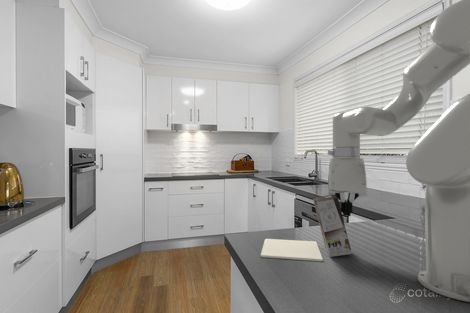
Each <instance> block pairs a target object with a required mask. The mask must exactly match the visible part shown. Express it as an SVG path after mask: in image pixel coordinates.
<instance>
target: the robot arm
mask: <svg viewBox="0 0 470 313" xmlns="http://www.w3.org/2000/svg"><path fill="white" fill-rule="evenodd" d="M429 35H430V39H431V41H432V42H431V44H429V46H428V47H427V48H426V49H424V50H423V51H422V52H421V53H420V54H419V55H418V56H417V57H415V59H414V60H412V62H410V63H409V64H408V65H407V66H406V67H405V68H404V69H403V72H402V80H403V82H402V84H403V85H402V88H401V89H400V92H399V93H398V95H397V96H396V97H395V98H394V99H393V100H392V101H391V102H389V104H387V105H386V106H385V107H384V108H383V109H382V108H377V107H372V106H362V107H359V108H356V109H353V110H351V111H345V112H344V111H343V112H338V113H335V114H334V115H333V117H332V149H329V150H327V155H330V156H332V157H331V158H330V160H329V164H328V165H329V167H328V173H327V174H328V175H327V179H328V180H327V187H328V188H327V195H332V196H336V197H338V200H339V202H340V208H341V212H342V216H344V217H347V216H348V217H351V214H352V213H353V203H354V202H355V201H356V199H358V198H360V197H365V196H366V195H367V190H368V189H367V186H368V185H367V174H366V166H365V160H364V158H361V135H364V136H374V137H375V136H376V137H383V136H384V137H385V136H388V135H391V134H392V133H395V132H396V131H397V130H399V129H400V128H401V127H403V126H404V125H405V124H407V123H408V122H410V121H411V120H412V119H414V117H415V116H416V115H418V114H419V112H421V110H422V108H423V107H424V106H425V105H427V102H428V101H429V99H430V97H431V96H432V95H433V94H434V93H435V92H436V91H437V90H439V89H440V88H441V87H442V86H443V85H445V84H446V83H447V82H448V81H449V80H451V79H452V78H453V77H454V76H456V75H458V74H459V73H460V72H461V71H463V69H465V68H466V67H467V66H469V65H470V0H459V1H457V2H455V3H453V4H451V5H450V6H447V8H445V9H444V10H442V11H441V12H440V13H439V14H438V15H437V17H436V18H435V19H434V20H433V22H432V23H431V26H430V30H429ZM406 156H407V157H406V159H405V164H406V168H407V172H408V173H409V175H410V177H412V179H414V180H415V181H416V182H418V183H420V184H422V185H425V186H426V189H425V194H424V195H425V197H424V225H425V226H424V229H425V230H424V231H425V262H426V263H425V266H426V267H425V270H422V271H419V273H418V275H417V280H418V282H419V283H420V285H422V286H423V287H424V288H426V289H428V290H429V291H431V292H434V293H436V294H438V295H441V296H444V297H447V298H450V299H452V300H458V301H462V302H467V303H470V93H468V94H467V95H465V96H462V97H461V98H459V99H458V100H457V101H455V102H454V103H453V104H451V105H450V107H449V108H448V109H447V110H445V112H444V113H443V114H441V116H440V117H439V118H438V119H437V120H436V121H435V122H434V123H433V124H432V125H431V126H430V127H429V128H428V129H427V131H426V132H425V133H423V135H421V137H420V138H419V139H418V140H417V141H416V142H415V144H413V145H412V147H411V148H410V150H409V151H408V153H407V155H406ZM345 193H347V199H346V196H345Z"/></svg>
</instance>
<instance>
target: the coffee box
mask: <svg viewBox="0 0 470 313" xmlns="http://www.w3.org/2000/svg"><path fill="white" fill-rule="evenodd" d="M312 200H313V204H314V207H315V208H314V209H315V213H316V215H317V219H318V220H317V221H318V224H319V227H320V231H321V235H322V239H323V243H324V247H325V249H326V251H327V254H328V256H329V257H330V258H331V257H338V256H339V257H340V256H345V255H352V254H353V253H352V249H351V245H350V244H351V243H350V241H349V237H348V233H347V228H346V225H345V224H346V223H345V220H344V217H343V216H344V215H343V212H341V203H340V200H339V199H338V197H336V196H332V195H329V194H327V195H323V196H318V197H314V198H312Z"/></svg>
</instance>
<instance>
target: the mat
mask: <svg viewBox="0 0 470 313" xmlns="http://www.w3.org/2000/svg"><path fill="white" fill-rule="evenodd" d="M260 258H268V259H269V258H270V259H283V260H294V261H295V260H298V261H308V262H309V261H311V262H324V258H323V256H322V254H321V251H320V248H319V246H318V242H317V241H313V240H295V239H281V238H280V239H278V238H277V239H275V238H265V239H264V242H263V245H262V248H261V253H260Z"/></svg>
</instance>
